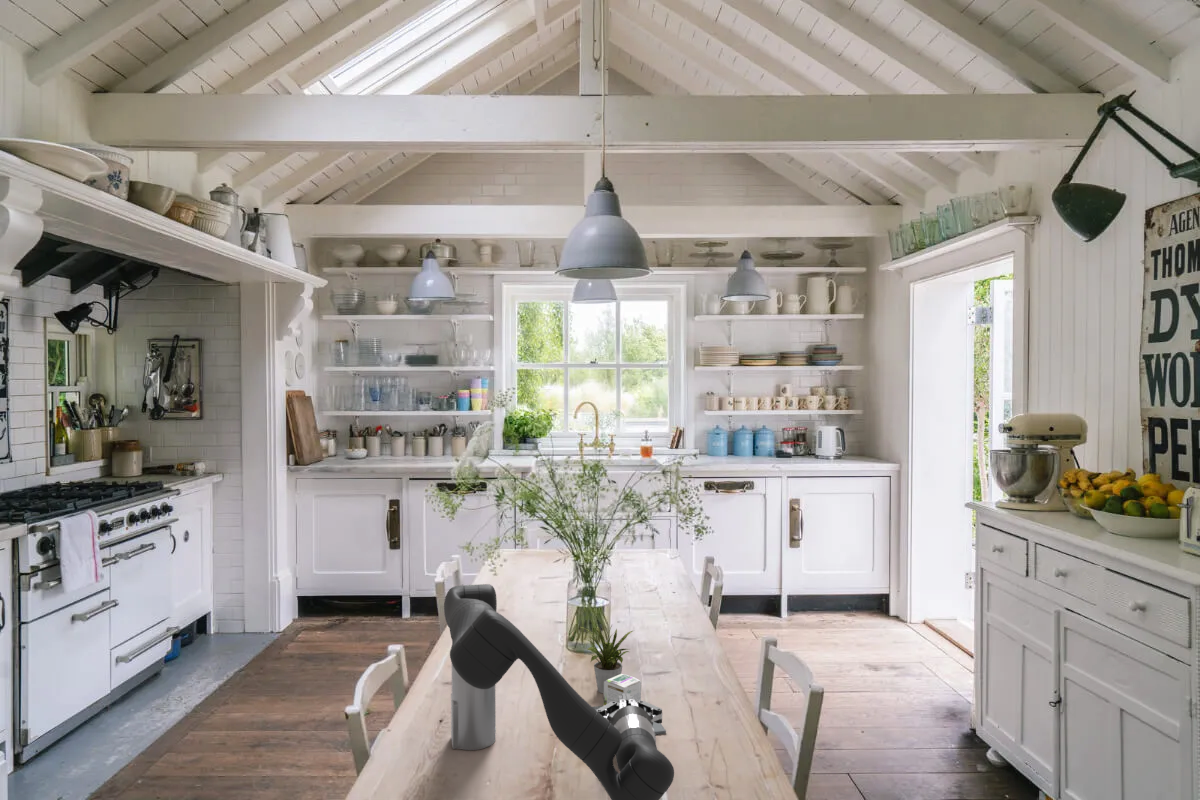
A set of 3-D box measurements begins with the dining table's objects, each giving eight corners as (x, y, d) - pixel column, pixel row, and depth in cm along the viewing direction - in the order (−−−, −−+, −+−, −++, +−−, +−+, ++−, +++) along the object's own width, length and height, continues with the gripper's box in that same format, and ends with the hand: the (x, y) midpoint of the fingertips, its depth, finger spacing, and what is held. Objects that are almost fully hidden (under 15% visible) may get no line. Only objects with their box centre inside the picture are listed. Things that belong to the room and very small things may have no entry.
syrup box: (619, 739, 171) (619, 672, 171) (641, 747, 167) (641, 678, 167) (602, 748, 167) (602, 679, 167) (624, 757, 163) (624, 686, 163)
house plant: (564, 696, 194) (564, 629, 194) (586, 676, 207) (586, 614, 207) (620, 705, 189) (620, 636, 189) (638, 684, 202) (639, 620, 202)
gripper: (595, 758, 140) (592, 717, 157) (670, 756, 141) (659, 716, 158) (595, 715, 140) (591, 679, 157) (670, 714, 140) (659, 678, 158)
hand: (625, 698), depth 157 cm, fingers closed
